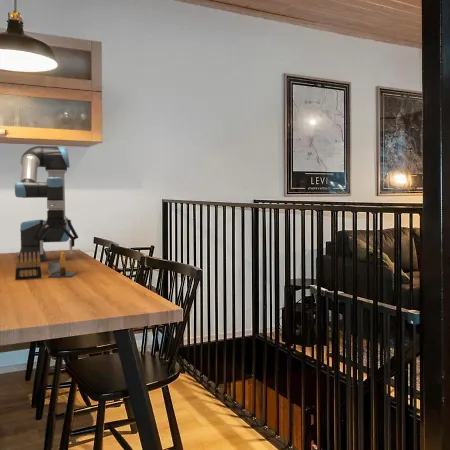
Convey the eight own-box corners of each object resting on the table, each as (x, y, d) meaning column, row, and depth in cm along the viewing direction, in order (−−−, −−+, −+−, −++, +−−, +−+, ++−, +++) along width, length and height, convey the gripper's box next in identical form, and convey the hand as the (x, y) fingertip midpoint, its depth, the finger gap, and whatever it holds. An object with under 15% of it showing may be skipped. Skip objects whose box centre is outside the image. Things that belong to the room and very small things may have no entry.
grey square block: (51, 271, 230) (51, 261, 230) (65, 271, 231) (65, 260, 231) (48, 273, 224) (47, 262, 224) (62, 273, 225) (62, 262, 224)
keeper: (54, 273, 224) (54, 250, 223) (76, 273, 225) (76, 250, 224) (48, 277, 212) (47, 253, 211) (71, 277, 213) (70, 253, 212)
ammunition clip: (15, 279, 207) (14, 252, 206) (15, 279, 209) (14, 252, 208) (41, 277, 212) (40, 251, 211) (41, 277, 213) (40, 250, 213)
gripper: (25, 209, 221) (27, 255, 222) (80, 209, 224) (81, 254, 224) (30, 209, 228) (31, 253, 229) (83, 209, 231) (84, 252, 232)
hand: (56, 253), depth 227 cm, fingers open, 13 cm apart
